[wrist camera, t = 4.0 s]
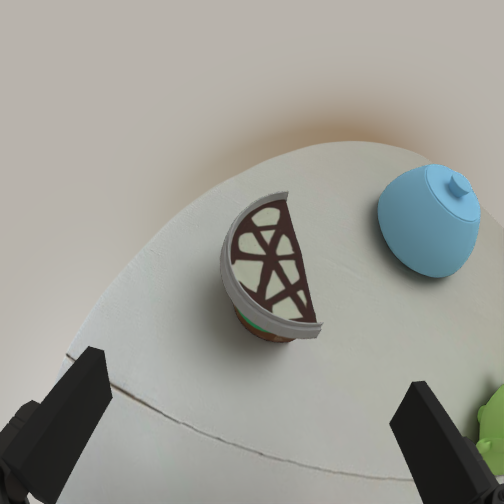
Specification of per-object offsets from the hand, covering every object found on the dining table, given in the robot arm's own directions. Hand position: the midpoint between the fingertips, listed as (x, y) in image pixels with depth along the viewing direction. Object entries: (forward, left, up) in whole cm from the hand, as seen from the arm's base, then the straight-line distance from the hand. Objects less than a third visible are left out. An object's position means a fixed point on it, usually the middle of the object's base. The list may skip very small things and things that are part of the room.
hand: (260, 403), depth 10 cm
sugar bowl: (+22, +22, -16) cm, 35 cm away
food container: (0, +10, -16) cm, 19 cm away
